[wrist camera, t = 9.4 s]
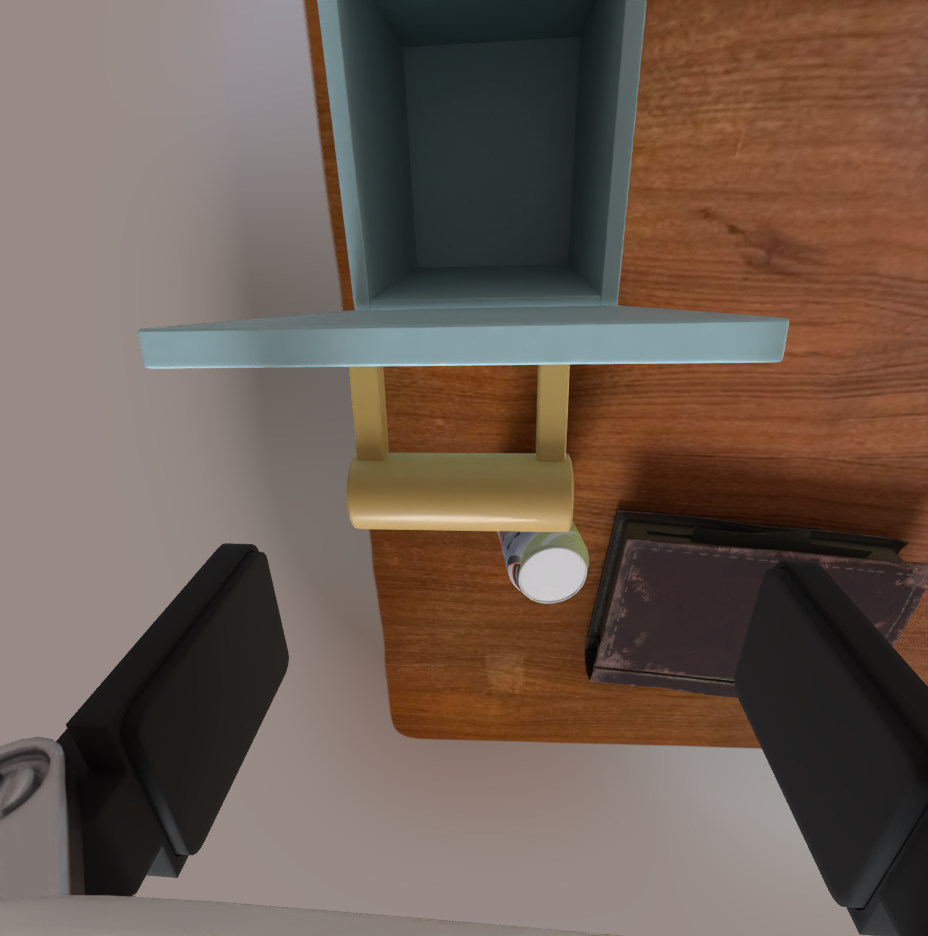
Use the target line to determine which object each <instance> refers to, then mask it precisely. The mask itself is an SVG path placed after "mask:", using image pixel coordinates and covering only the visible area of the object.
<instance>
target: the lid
mask: <svg viewBox="0 0 928 936" xmlns="http://www.w3.org/2000/svg"><path fill="white" fill-rule="evenodd" d="M788 326H789V320H788V319H787V318H779V317H766V316H753V315H740V314H727V313H713V312H700V311H687V310H674V309H661V308H648V307H634V306H621V305H606V306H553V307H501V308H449V309H396V310H351V311H340V312H328V313H318V314H305V315H293V316H282V317H271V318H259V319H247V320H236V321H225V322H214V323H201V324H190V325H178V326H167V327H155V328H144V329H140V330H138V336H139V341H140V346H141V351H142V356H143V361H144V365H145V367H146V368H149V369H152V368H153V369H155V368H157V369H158V368H160V369H161V368H256V367H257V368H258V367H349V373H350V385H351V396H352V407H353V418H354V431H355V442H356V455H355V456H354V457H353V459H352V462H351V465H350V468H349V473H348V479H347V507H348V512H349V517H350V520H351V523H352V524H353V526H354V527H355V528H358V529H393V530H455V531H518V532H568V531H569V530H570V527H571V524H572V517H573V502H574V484H573V468H572V462H571V458H570V456H569V455H568V454H566V442H567V419H568V395H569V372H570V364H657V363H756V362H780V361H782V359H783V355H784V350H785V344H786V338H787V332H788ZM458 365H538V380H537V422H536V453H389V447H388V432H387V417H386V402H385V388H384V373H383V366H458Z"/></svg>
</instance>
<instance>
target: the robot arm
mask: <svg viewBox="0 0 928 936" xmlns="http://www.w3.org/2000/svg"><path fill="white" fill-rule="evenodd" d="M288 661H289V655H288V649H287V645H286V640H285V636H284V631H283V627H282V623H281V618H280V614H279V610H278V605H277V600H276V596H275V591H274V587H273V582H272V578H271V574H270V569H269V565H268V560H267V557H266V555H265V554H264V553H263V552H259V551H258V548H257V547H256V546H255V545H253V544H222V545H221V546H220V547H219V548H218V549H217V550H216V551H215V552H214V554H213V555H212V556H211V557H210V558H209V559H208V560H207V562H206V563H205V564H204V565H203V566H202V567H201V569H200V570H199V571H198V572H197V573H196V574H195V576H194V577H193V578H192V579H191V580H190V581H189V582H188V584H187V585H186V586H185V587H184V588H183V589H182V591H181V592H180V593H179V594H178V595H177V596H176V598H175V599H174V600H173V601H172V602H171V603H170V605H169V606H168V607H167V608H166V609H165V610H164V612H163V613H162V614H161V615H160V616H159V617H158V618H157V620H156V621H155V622H154V623H153V624H152V625H151V627H150V628H149V629H148V630H147V631H146V632H145V634H144V635H143V636H142V637H141V638H140V639H139V641H138V642H137V643H136V644H135V645H134V646H133V647H132V649H131V650H130V651H129V652H128V653H127V654H126V655H125V657H124V658H123V659H122V660H121V661H120V662H119V664H118V665H117V666H116V667H115V668H114V669H113V671H112V672H111V673H110V674H109V675H108V676H107V678H106V679H105V680H104V681H103V682H102V683H101V685H100V686H99V687H98V688H97V689H96V690H95V691H94V693H93V694H92V695H91V696H90V697H89V698H88V700H87V701H86V702H85V703H84V704H83V705H82V707H81V708H80V709H79V710H78V711H77V712H76V713H75V715H74V716H73V717H72V718H71V719H70V720H69V722H68V723H67V724H66V726H67V729H66V730H65V732H64V733H63V734H62V735H61V736H60V738H59V739H58V740H57V741H56V742H55V741H54V740H53V739H48V738H42V737H34V738H26V739H20V740H18V741H15V742H12V743H9V744H6V745H3V746H1V747H0V936H620V935H609V934H597V933H586V932H575V931H562V930H551V929H540V928H529V927H516V926H506V925H494V924H481V923H469V922H459V921H446V920H435V919H423V918H411V917H400V916H388V915H375V914H362V913H350V912H337V911H325V910H313V909H300V908H288V907H275V906H262V905H250V904H238V903H225V902H210V901H194V900H177V899H160V898H159V899H158V898H143V897H135V893H137V891H138V889H139V888H140V886H141V884H142V882H143V880H144V878H145V877H146V875H149V876H162V877H173V878H178V876H179V874H180V872H181V870H182V868H183V866H184V864H185V862H186V860H187V858H188V856H189V855H194V854H196V853H197V852H198V851H199V850H200V848H201V847H202V845H203V843H204V841H205V839H206V837H207V835H208V833H209V831H210V829H211V827H212V825H213V823H214V820H215V818H216V816H217V814H218V812H219V810H220V808H221V806H222V804H223V802H224V800H225V798H226V796H227V794H228V791H229V790H230V787H231V785H232V783H233V781H234V779H235V777H236V775H237V773H238V771H239V769H240V767H241V765H242V763H243V761H244V758H245V756H246V754H247V752H248V750H249V748H250V746H251V744H252V742H253V740H254V738H255V736H256V734H257V731H258V729H259V727H260V725H261V723H262V721H263V719H264V717H265V715H266V713H267V711H268V709H269V707H270V705H271V703H272V701H273V698H274V696H275V694H276V692H277V690H278V688H279V686H280V684H281V682H282V680H283V678H284V675H285V673H286V671H287V667H288ZM734 684H735V690H736V694H737V696H738V699H739V701H740V703H741V705H742V707H743V709H744V711H745V714H746V716H747V718H748V720H749V722H750V724H751V726H752V728H753V731H754V733H755V735H756V737H757V739H758V741H759V743H760V745H761V748H762V750H763V752H764V754H765V756H766V758H767V760H768V762H769V765H770V766H771V769H772V771H773V773H774V775H775V777H776V779H777V782H778V784H779V786H780V788H781V790H782V792H783V794H784V796H785V799H786V801H787V803H788V805H789V807H790V809H791V811H792V813H793V816H794V818H795V820H796V822H797V824H798V826H799V828H800V831H801V833H802V835H803V837H804V839H805V841H806V843H807V845H808V848H809V850H810V852H811V854H812V856H813V858H814V860H815V862H816V864H817V867H818V869H819V871H820V873H821V875H822V877H823V879H824V882H825V884H826V886H827V888H828V890H829V892H830V894H831V895H832V897H833V898H834V900H835V901H836V902H837V903H838V904H839V905H840V906H843V907H847V909H848V911H849V913H850V915H851V917H852V920H853V922H854V924H855V926H856V928H857V930H858V932H859V934H861V935H873V936H928V687H927V685H926V684H925V683H924V682H923V681H922V680H921V679H920V678H919V676H918V675H917V674H916V673H915V672H914V671H913V670H912V668H911V667H910V666H909V665H908V664H907V663H906V662H905V660H904V659H903V658H902V657H901V656H900V655H899V654H898V653H897V651H896V650H895V649H894V648H893V647H892V646H891V645H890V643H889V642H888V641H887V640H886V639H885V638H884V637H883V635H882V634H881V633H880V632H879V631H878V630H877V629H876V627H875V626H874V625H873V624H872V623H871V622H870V621H869V620H868V618H867V617H866V616H865V615H864V614H863V613H862V612H861V610H860V609H859V608H858V607H857V606H856V605H855V604H854V602H853V601H852V600H851V599H850V598H849V597H848V596H847V595H846V593H845V592H844V591H843V590H842V589H841V588H840V587H839V585H838V584H837V583H836V582H835V581H834V580H833V579H832V577H831V576H830V575H829V574H828V573H827V572H826V571H825V569H824V568H823V567H822V566H821V565H820V564H818V563H816V562H812V561H779V562H778V563H777V564H776V565H775V567H774V568H770V569H767V570H766V571H765V574H764V576H763V580H762V583H761V587H760V590H759V593H758V597H757V600H756V604H755V607H754V611H753V614H752V617H751V621H750V624H749V628H748V631H747V634H746V638H745V641H744V645H743V648H742V651H741V655H740V658H739V662H738V665H737V668H736V672H735V677H734Z"/></svg>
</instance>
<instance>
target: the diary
mask: <svg viewBox="0 0 928 936" xmlns="http://www.w3.org/2000/svg"><path fill="white" fill-rule="evenodd" d="M907 544H908V542H907V541H903V540H899V539H895V538H889V537H880V536H872V535H864V534H855V533H847V532H838V531H830V530H817V529H811V528H808V529H804V528H790V527H777V526H763V525H756V524H749V523H742V522H735V521H728V520H721V519H713V518H706V517H699V516H692V515H679V514H664V513H650V512H636V511H624V510H617V514H616V518H615V522H614V527H613V531H612V535H611V539H610V544H609V548H608V552H607V556H606V561H605V565H604V569H603V573H602V578H601V582H600V586H599V590H598V595H597V599H596V603H595V607H594V612H593V616H592V620H591V624H590V629H589V633H588V637H587V641H586V646H585V665H586V671H587V675H588V678H589V680H590V681H591V682H597V683H608V684H620V685H632V686H644V687H656V688H665V689H672V690H679V691H687V692H694V693H701V694H709V695H716V696H723V697H735V698H738V696H737V694H736V690H735V684H734V677H735V672H736V668H737V665H738V662H739V658H740V655H741V651H742V648H743V645H744V641H745V638H746V634H747V631H748V628H749V624H750V621H751V617H752V614H753V611H754V607H755V604H756V600H757V597H758V593H759V590H760V587H761V583H762V580H763V576H764V574H765V571H766V570H767V569H770V568H774V567H775V565H776V564H777V563H778V562H779V561H812V562H816V563H818V564H820V565H821V566H822V567H823V568H824V569H825V571H826V572H827V573H828V574H829V575H830V576H831V577H832V579H833V580H834V581H835V582H836V583H837V584H838V585H839V587H840V588H841V589H842V590H843V591H844V592H845V593H846V595H847V596H848V597H849V598H850V599H851V600H852V601H853V602H854V604H855V605H856V606H857V607H858V608H859V609H860V610H861V612H862V613H863V614H864V615H865V616H866V617H867V618H868V620H869V621H870V622H871V623H872V624H873V625H874V626H875V627H876V629H877V630H878V631H879V632H880V633H881V634H882V635H883V637H884V638H885V639H886V640H887V641H888V642H889V643H890V645H891V646H892V647H893V646H894V645H895V643H896V641H897V640H898V638H899V636H900V635H901V633H902V631H903V630H904V628H905V626H906V625H907V623H908V621H909V620H910V618H911V616H912V615H913V613H914V611H915V609H916V607H917V605H918V603H919V601H920V599H921V597H922V595H923V594H924V592H925V590H926V588H927V586H928V564H927V563H916V562H905V561H904V560H903V559H902V558H900V557H899V556H898V555H897V554H898V553H899V551H900V550H901V549H902V548H903V547H904V546H905V545H907Z"/></svg>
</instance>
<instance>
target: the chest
mask: <svg viewBox="0 0 928 936" xmlns="http://www.w3.org/2000/svg"><path fill="white" fill-rule="evenodd" d="M317 2H318V10H319V18H320V26H321V35H322V43H323V51H324V60H325V68H326V76H327V84H328V93H329V101H330V109H331V118H332V126H333V134H334V142H335V151H336V159H337V167H338V176H339V184H340V192H341V200H342V209H343V217H344V225H345V234H346V242H347V250H348V258H349V267H350V275H351V283H352V291H353V300H354V308H355V310H396V309H449V308H501V307H553V306H606V305H617V303H618V293H619V283H620V272H621V262H622V251H623V241H624V231H625V220H626V210H627V200H628V189H629V179H630V169H631V158H632V148H633V138H634V127H635V117H636V107H637V96H638V86H639V75H640V65H641V55H642V44H643V34H644V24H645V13H646V3H647V0H317Z"/></svg>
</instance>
